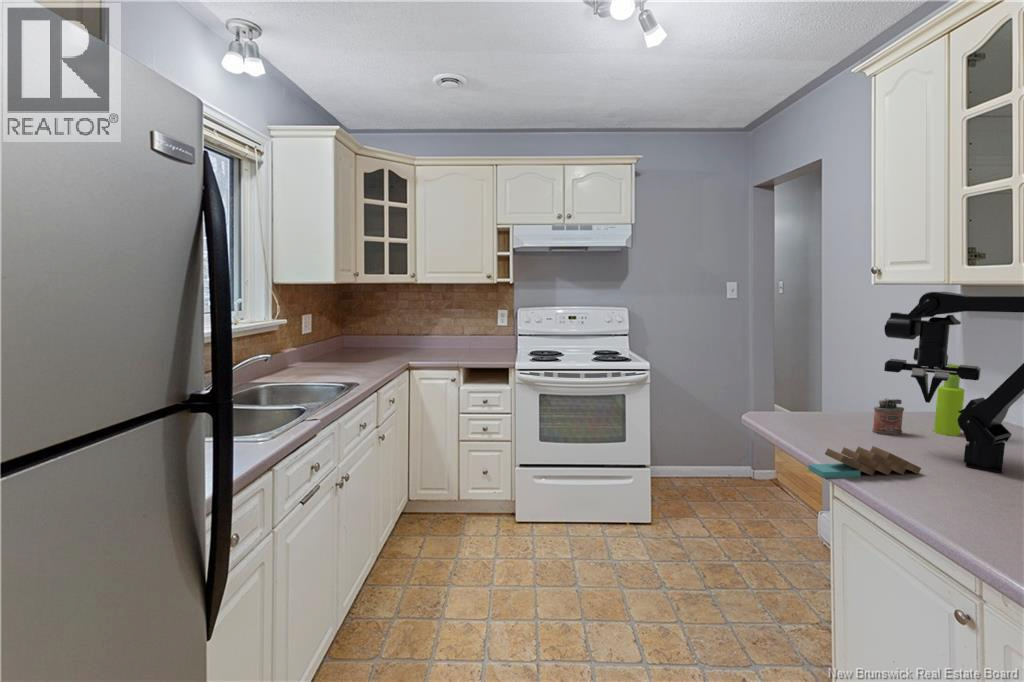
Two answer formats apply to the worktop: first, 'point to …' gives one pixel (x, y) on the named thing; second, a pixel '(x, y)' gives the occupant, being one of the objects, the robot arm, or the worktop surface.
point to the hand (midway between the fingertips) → (927, 402)
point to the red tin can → (888, 417)
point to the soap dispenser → (949, 406)
